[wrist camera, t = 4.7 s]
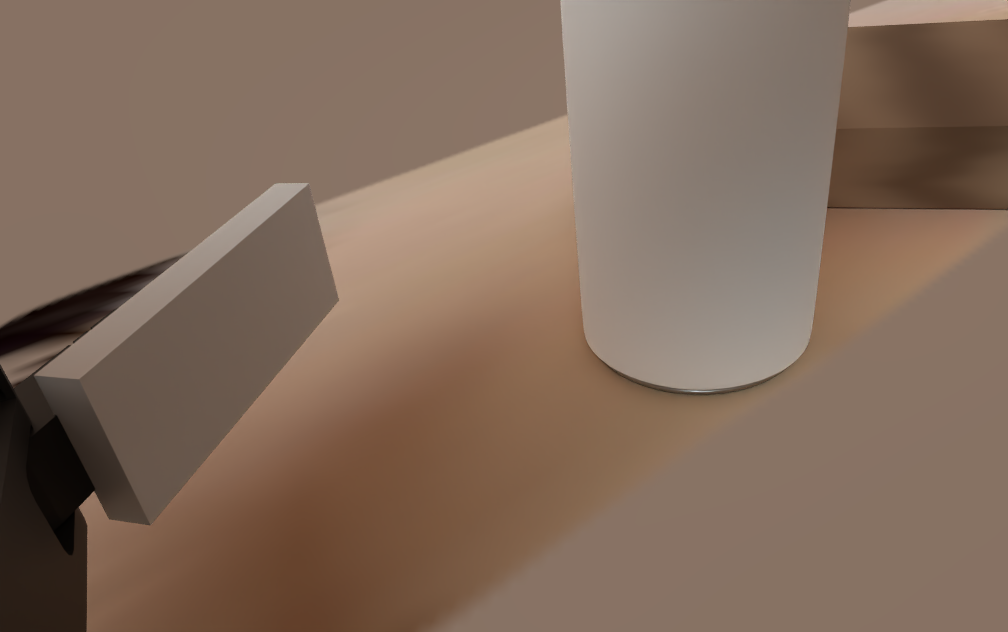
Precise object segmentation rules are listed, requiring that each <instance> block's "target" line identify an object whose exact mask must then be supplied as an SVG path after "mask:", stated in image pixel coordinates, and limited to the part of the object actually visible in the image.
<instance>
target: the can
mask: <svg viewBox="0 0 1008 632" xmlns="http://www.w3.org/2000/svg"><path fill="white" fill-rule="evenodd" d="M850 2H851V0H561V16H562V33H563V47H564V48H563V49H564V63H565V79H566V94H567V109H568V124H569V139H570V153H571V168H572V182H573V197H574V211H575V225H576V239H577V253H578V267H579V280H580V293H581V306H582V317H583V327H584V334H585V338H586V341H587V343H588V345H589V347H590V348H591V349H592V351H593V352H594V353H595V354H596V355H597V356H598V357H599V358H600V359H601V360H602V361H604V362H605V363H606V364H607V365H608V366H609V367H610V368H612V369H613V370H614V371H616V372H617V373H618V374H620V375H622V376H623V377H625V378H627V379H629V380H631V381H633V382H636V383H638V384H641V385H644V386H647V387H650V388H653V389H657V390H662V391H667V392H673V393H680V394H696V395H704V394H720V393H728V392H734V391H738V390H743V389H746V388H750V387H753V386H756V385H758V384H761V383H763V382H765V381H768V380H769V379H771V378H773V377H775V376H776V375H778V374H779V373H781V372H782V371H783V370H784V369H785V368H787V367H788V366H790V365H791V364H792V363H794V362H795V361H796V360H797V359H798V358H799V357H800V356H801V355H802V353H803V352H804V351H805V349H806V347H807V345H808V343H809V340H810V336H811V331H812V325H813V318H814V310H815V303H816V295H817V287H818V279H819V271H820V262H821V254H822V246H823V237H824V229H825V221H826V212H827V204H828V195H829V187H830V178H831V170H832V161H833V152H834V144H835V135H836V126H837V118H838V109H839V100H840V92H841V83H842V74H843V65H844V56H845V48H846V39H847V30H848V21H849V12H850Z"/></svg>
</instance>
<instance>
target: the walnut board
mask: <svg viewBox="0 0 1008 632" xmlns="http://www.w3.org/2000/svg"><path fill="white" fill-rule="evenodd" d="M827 207H860V208H957V209H1008V19H1006V20H986V21H966V22H946V23H926V24H906V25H885V26H865V27H848V30H847V39H846V48H845V56H844V65H843V74H842V83H841V92H840V100H839V109H838V118H837V126H836V135H835V144H834V152H833V161H832V170H831V178H830V187H829V195H828V204H827Z"/></svg>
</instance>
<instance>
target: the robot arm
mask: <svg viewBox="0 0 1008 632" xmlns="http://www.w3.org/2000/svg"><path fill="white" fill-rule="evenodd" d="M338 301H339V298H338V294H337V290H336V287H335V283H334V279H333V275H332V271H331V267H330V263H329V259H328V255H327V252H326V248H325V244H324V240H323V236H322V232H321V228H320V224H319V220H318V217H317V213H316V209H315V205H314V201H313V197H312V193H311V189H310V186H309V184H308V183H304V184H301V183H300V184H299V183H297V184H296V183H295V184H294V183H293V184H292V183H290V184H288V183H286V184H285V183H280V184H279V183H277V184H275V185H273V186H272V187H271V188H269V189H268V190H267V191H266V192H264V193H263V194H262V195H261V196H259V197H258V198H257V199H256V200H254V201H253V202H252V203H250V204H249V205H248V206H247V207H245V208H244V209H243V210H242V211H240V212H239V213H238V214H237V215H235V216H234V217H233V218H232V219H231V220H229V221H228V222H227V223H225V224H224V225H223V226H221V227H220V228H219V229H218V230H216V231H215V232H214V233H213V234H211V235H210V236H209V237H208V238H206V239H205V240H204V241H203V242H201V243H200V244H199V245H197V246H196V247H195V248H194V249H192V250H191V251H190V252H189V253H187V254H186V255H185V256H184V257H182V258H181V259H180V260H179V261H177V262H176V263H175V264H174V265H172V266H171V267H170V268H168V269H167V270H166V271H165V272H163V273H162V274H161V275H160V276H158V277H157V278H156V279H155V280H153V281H152V282H151V283H150V284H148V285H147V286H146V287H144V288H143V289H142V290H141V291H139V292H138V293H137V294H136V295H134V296H133V297H132V298H131V299H129V300H128V301H127V302H126V303H124V304H123V305H122V306H121V307H119V308H117V309H115V310H113V311H111V312H110V313H109V314H108V315H106V316H105V317H104V318H102V319H101V320H100V321H99V322H97V323H96V324H95V325H94V326H92V327H91V330H90V331H86V332H85V333H83V334H82V335H81V336H80V337H78V338H77V339H76V340H75V341H73V345H68V346H67V347H66V348H64V349H63V350H62V351H61V352H59V353H58V354H57V355H56V356H54V357H53V358H52V359H50V360H49V361H48V362H47V363H45V364H44V365H43V366H42V367H40V368H39V369H38V370H37V371H35V372H34V373H33V374H31V375H30V376H29V377H28V378H26V379H25V380H24V381H23V382H21V383H20V384H19V385H18V386H16V387H15V388H14V389H13V387H12V385H11V383H10V381H9V380H8V378H7V376H6V374H5V372H4V370H3V369H2V367H1V365H0V632H86V629H87V524H86V521H85V518H84V516H83V514H82V513H81V511H80V509H79V506H80V505H81V504H82V503H83V502H84V501H85V500H86V499H87V498H88V497H89V496H90V495H91V493H92V492H93V491H95V493H96V495H97V497H98V499H99V501H100V503H101V504H102V506H103V508H104V510H105V512H106V514H107V516H108V518H109V519H111V520H118V521H125V522H131V523H138V524H145V525H151V524H152V523H153V522H154V521H155V519H156V518H157V517H158V516H159V515H160V513H161V512H162V511H163V510H164V509H165V507H166V506H167V505H168V504H169V503H170V501H171V500H172V499H173V498H174V497H175V496H176V494H177V493H178V492H179V491H180V490H181V488H182V487H183V486H184V485H185V484H186V482H187V481H188V480H189V479H190V478H191V476H192V475H193V474H194V473H195V472H196V470H197V469H198V468H199V467H200V466H201V464H202V463H203V462H204V461H205V460H206V459H207V457H208V456H209V455H210V454H211V453H212V451H213V450H214V449H215V448H216V447H217V445H218V444H219V443H220V442H221V441H222V439H223V438H224V437H225V436H226V435H227V433H228V432H229V431H230V430H231V429H232V428H233V426H234V425H235V424H236V423H237V422H238V420H239V419H240V418H241V417H242V416H243V414H244V413H245V412H246V411H247V410H248V408H249V407H250V406H251V405H252V404H253V402H254V401H255V400H256V399H257V398H258V396H259V395H260V394H261V393H262V392H263V391H264V389H265V388H266V387H267V386H268V385H269V383H270V382H271V381H272V380H273V379H274V377H275V376H276V375H277V374H278V373H279V371H280V370H281V369H282V368H283V367H284V365H285V364H286V363H287V362H288V361H289V359H290V358H291V357H292V356H293V355H294V354H295V352H296V351H297V350H298V349H299V348H300V346H301V345H302V344H303V343H304V342H305V340H306V339H307V338H308V337H309V336H310V334H311V333H312V332H313V331H314V330H315V328H316V327H317V326H318V325H319V324H320V323H321V321H322V320H323V319H324V318H325V317H326V315H327V314H328V313H329V312H330V311H331V309H332V308H333V307H334V306H335V305H336V303H337V302H338Z"/></svg>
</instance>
